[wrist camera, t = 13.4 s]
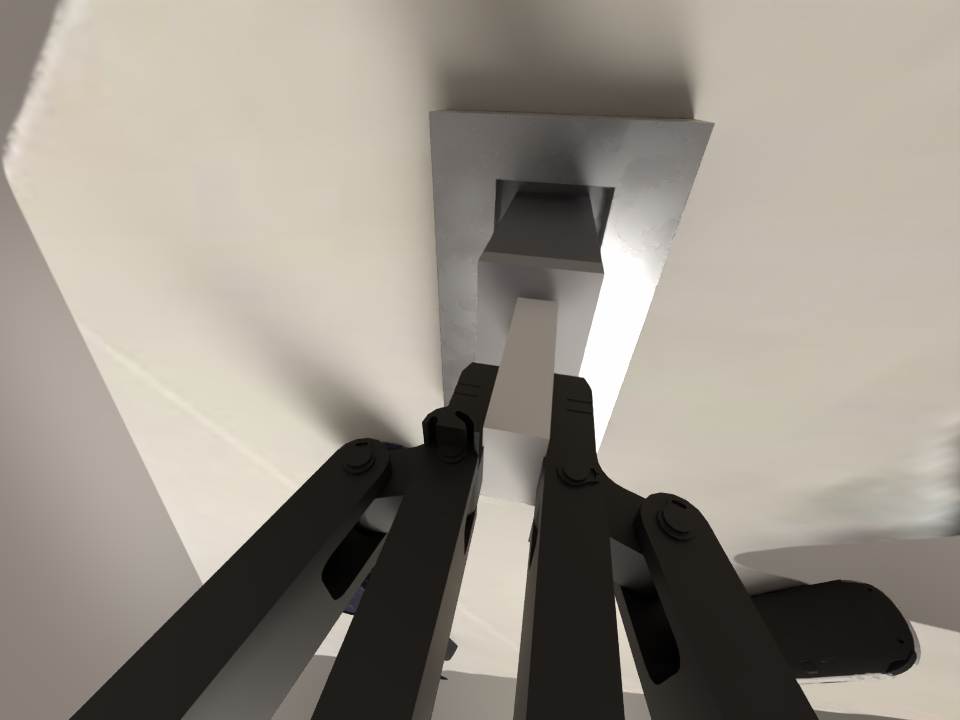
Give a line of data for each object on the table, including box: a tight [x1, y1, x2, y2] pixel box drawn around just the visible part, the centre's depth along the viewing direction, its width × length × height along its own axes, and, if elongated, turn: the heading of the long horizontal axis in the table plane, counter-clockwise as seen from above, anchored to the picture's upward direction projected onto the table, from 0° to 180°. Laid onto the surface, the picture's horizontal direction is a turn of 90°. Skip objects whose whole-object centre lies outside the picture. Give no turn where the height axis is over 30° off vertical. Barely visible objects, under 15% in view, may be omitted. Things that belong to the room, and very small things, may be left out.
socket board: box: [429, 110, 715, 452], centre depth 27 cm, size 14×26×4 cm, turn 178°
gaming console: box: [750, 580, 921, 684], centre depth 41 cm, size 19×9×2 cm
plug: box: [476, 191, 605, 377], centre depth 19 cm, size 4×5×12 cm
